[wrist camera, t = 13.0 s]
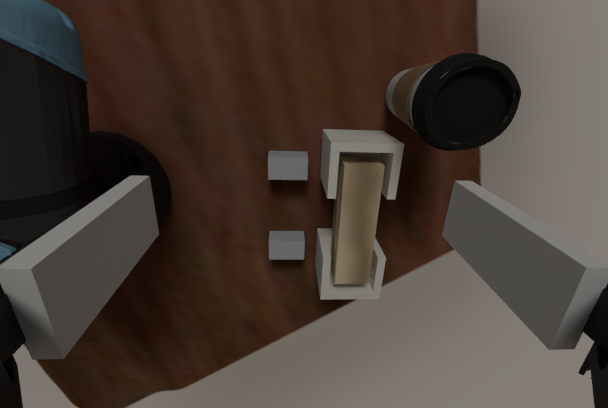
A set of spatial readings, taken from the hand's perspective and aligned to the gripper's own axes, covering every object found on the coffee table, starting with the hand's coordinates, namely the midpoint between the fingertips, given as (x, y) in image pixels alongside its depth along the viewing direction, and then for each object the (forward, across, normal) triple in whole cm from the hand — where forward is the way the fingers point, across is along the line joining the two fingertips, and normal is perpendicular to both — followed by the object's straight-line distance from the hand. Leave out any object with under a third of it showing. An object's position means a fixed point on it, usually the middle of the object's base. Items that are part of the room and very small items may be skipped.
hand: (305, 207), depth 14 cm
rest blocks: (+29, 0, -12) cm, 31 cm away
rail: (+26, +8, -12) cm, 29 cm away
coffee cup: (+29, +15, +3) cm, 33 cm away
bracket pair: (+29, +8, -12) cm, 32 cm away
